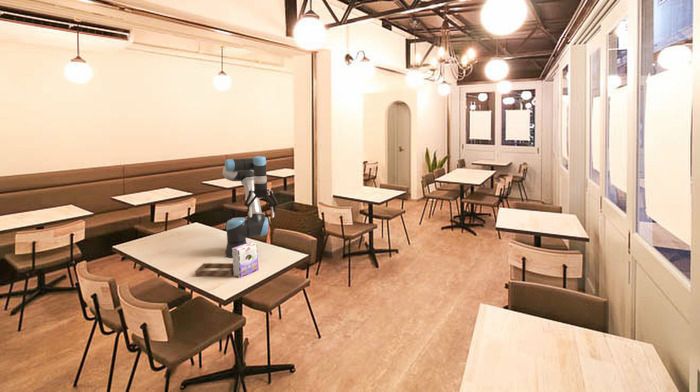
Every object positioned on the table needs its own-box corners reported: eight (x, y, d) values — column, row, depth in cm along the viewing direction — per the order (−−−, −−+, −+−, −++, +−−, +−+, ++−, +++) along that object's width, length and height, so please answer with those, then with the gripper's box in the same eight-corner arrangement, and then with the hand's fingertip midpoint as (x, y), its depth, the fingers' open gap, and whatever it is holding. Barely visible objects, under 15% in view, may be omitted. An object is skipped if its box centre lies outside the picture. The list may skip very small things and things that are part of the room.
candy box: (251, 268, 233) (250, 241, 230) (258, 270, 230) (257, 243, 227) (233, 275, 222) (231, 247, 219) (240, 278, 219) (238, 249, 216)
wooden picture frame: (195, 276, 221) (195, 270, 221) (204, 268, 233) (203, 263, 232) (231, 276, 221) (230, 271, 220) (237, 268, 233) (237, 263, 232)
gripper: (237, 183, 231) (239, 218, 236) (280, 184, 231) (281, 219, 235) (241, 181, 239) (243, 215, 243) (282, 181, 238) (283, 215, 243)
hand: (261, 217), depth 239 cm, fingers open, 13 cm apart
